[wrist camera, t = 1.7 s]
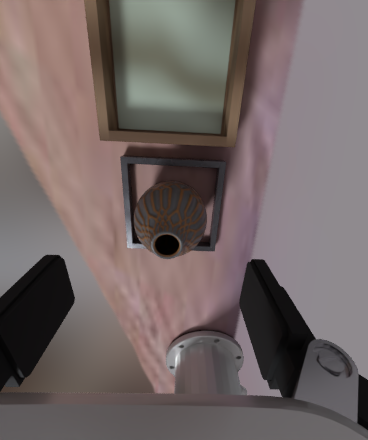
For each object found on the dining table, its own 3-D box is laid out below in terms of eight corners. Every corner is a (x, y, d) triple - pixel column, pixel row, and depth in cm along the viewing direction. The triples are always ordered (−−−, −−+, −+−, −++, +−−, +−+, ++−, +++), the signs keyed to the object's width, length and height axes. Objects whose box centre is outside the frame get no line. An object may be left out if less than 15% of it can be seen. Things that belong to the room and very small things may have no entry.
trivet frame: (213, 246, 25) (214, 251, 24) (129, 243, 25) (127, 247, 24) (224, 160, 21) (226, 161, 20) (123, 155, 20) (120, 156, 19)
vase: (172, 161, 21) (165, 179, 13) (215, 206, 23) (233, 247, 15) (129, 204, 23) (100, 244, 15) (172, 242, 25) (167, 296, 17)
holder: (227, 145, 20) (234, 147, 17) (111, 139, 20) (100, 140, 17) (248, -16, 15) (263, -48, 13) (96, -27, 15) (77, -62, 12)
